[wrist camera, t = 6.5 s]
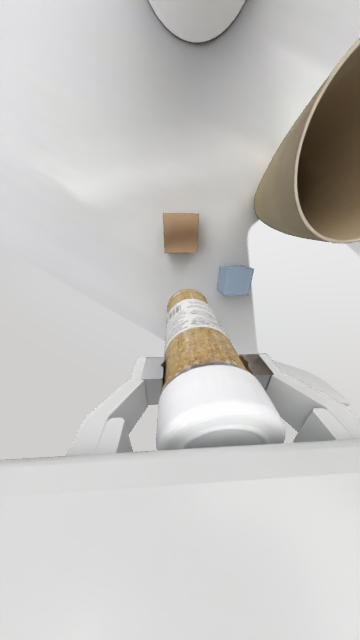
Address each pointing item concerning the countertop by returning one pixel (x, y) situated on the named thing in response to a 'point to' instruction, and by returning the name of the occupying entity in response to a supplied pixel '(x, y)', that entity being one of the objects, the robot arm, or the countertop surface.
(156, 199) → the countertop surface
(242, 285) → the slate blue block
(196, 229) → the walnut block
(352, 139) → the plant pot
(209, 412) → the sprinkles bottle
